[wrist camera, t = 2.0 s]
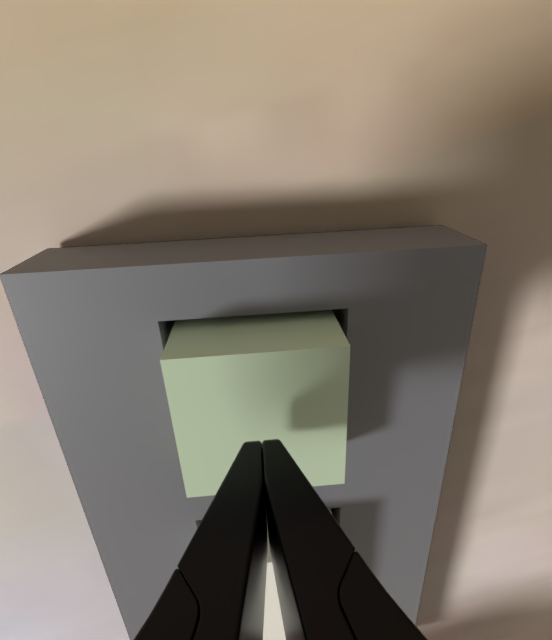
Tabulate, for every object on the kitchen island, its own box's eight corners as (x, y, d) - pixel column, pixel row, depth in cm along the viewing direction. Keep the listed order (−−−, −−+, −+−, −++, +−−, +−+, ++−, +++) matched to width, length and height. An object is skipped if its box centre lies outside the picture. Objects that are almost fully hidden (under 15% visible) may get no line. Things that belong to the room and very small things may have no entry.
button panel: (385, 638, 22) (402, 696, 20) (169, 662, 21) (160, 724, 19) (441, 225, 12) (486, 244, 10) (47, 248, 12) (-1, 274, 9)
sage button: (327, 424, 13) (344, 483, 11) (196, 435, 13) (186, 497, 11) (329, 304, 11) (350, 346, 9) (177, 315, 11) (159, 360, 9)
